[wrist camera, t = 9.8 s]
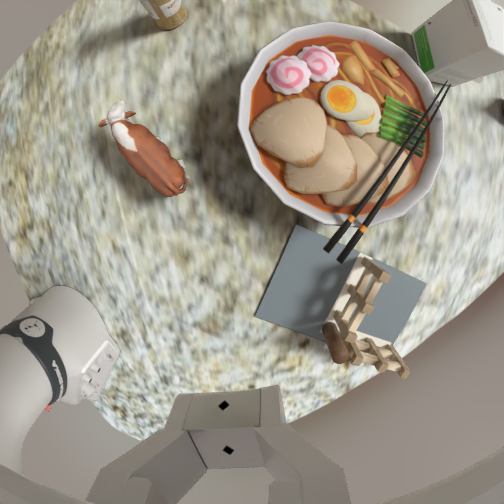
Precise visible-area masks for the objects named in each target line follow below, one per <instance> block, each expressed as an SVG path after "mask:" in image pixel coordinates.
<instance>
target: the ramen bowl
mask: <svg viewBox="0 0 504 504" xmlns="http://www.w3.org/2000/svg"><path fill="white" fill-rule="evenodd" d="M447 82H448V80H447V81H446V82H445V84H444V85H443V87H442V88H441V90H440V91H439V93H438V94H437V96H436V94H435V92H434V89H433V87H432V85H431V82H430V80H429V79H428V78H427V76H426V75H425V74H424V73H423V71H422V70H421V69H420V68H419V66H418V65H417V64H416V63H415V62H414V60H413V59H412V58H411V57H410V56H409V55H408V53H407V52H406V51H405V50H404V49H402V48H401V47H399V46H397V45H396V44H394V43H393V42H391V41H389V40H388V39H386V38H384V37H383V36H381V35H379V34H377V33H376V32H374V31H372V30H370V29H367V28H363V27H358V26H354V25H349V24H344V23H339V22H334V21H327V22H321V23H315V24H309V25H304V26H299V27H294V28H291V29H290V30H288V31H287V32H285V33H283V34H282V35H280V36H279V37H277V38H276V39H274V40H273V41H271V42H270V43H268V44H267V45H266V46H264V47H263V48H261V49H260V50H259V52H258V53H257V55H256V57H255V59H254V60H253V62H252V64H251V66H250V67H249V69H248V71H247V73H246V75H245V76H244V78H243V80H242V82H241V84H240V94H239V107H238V120H237V127H238V130H239V133H240V135H241V138H242V141H243V143H244V146H245V149H246V151H247V154H248V157H249V159H250V162H251V165H252V168H253V169H254V171H255V172H256V173H257V174H258V175H259V176H260V177H261V178H262V179H263V181H264V182H265V183H266V184H267V185H268V186H269V187H270V189H271V190H272V191H273V192H274V193H275V194H276V195H277V197H278V198H279V199H280V200H281V201H282V202H283V204H285V205H287V206H289V207H291V208H293V209H295V210H297V211H299V212H301V213H303V214H305V215H307V216H309V217H311V218H313V219H315V220H317V221H319V222H321V223H323V224H325V225H336V226H341V227H340V228H339V229H338V230H337V232H336V233H335V234H334V235H333V237H332V238H331V239H330V240H329V241H328V243H327V244H326V245H325V246H324V248H323V250H324V251H326V252H327V253H328V254H329V253H330V251H331V250H332V249H333V247H334V246H335V245H336V244H337V242H338V241H339V240H340V238H341V237H342V236H343V234H344V233H345V232H346V231H347V229H348V228H349V227H357V228H359V229H358V230H357V231H356V233H355V234H354V235H353V237H352V238H351V240H350V241H349V242H348V244H347V245H346V246H345V248H344V249H343V250H342V252H341V253H340V254H339V256H338V257H337V258H336V260H337V261H338V262H339V263H341V264H343V262H344V261H345V259H346V258H347V257H348V255H349V254H350V252H351V251H352V249H353V248H354V247H355V245H356V244H357V242H358V241H359V239H360V238H361V236H362V235H363V234H364V231H365V230H366V229H367V228H370V227H372V226H375V225H378V224H381V223H384V222H387V221H389V220H392V219H395V218H398V217H401V216H403V215H405V214H406V213H407V212H408V211H409V210H410V209H411V208H412V207H413V206H414V205H415V204H416V203H417V202H418V201H419V200H421V199H422V198H423V197H424V196H425V195H426V194H427V193H428V192H429V191H430V190H431V187H432V185H433V183H434V180H435V178H436V175H437V173H438V170H439V167H440V165H441V162H442V159H443V157H444V116H443V113H442V110H441V108H440V105H441V103H442V102H443V100H444V98H445V96H446V94H447V92H448V90H449V88H450V86H451V84H449V86H448V88H447V90H446V92H445V94H444V95H443V97H442V99H441V101H440V103H439V102H438V100H437V98H438V97H439V95H440V93H441V92H442V90H443V88H444V87H445V85H446V83H447Z"/></svg>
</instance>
